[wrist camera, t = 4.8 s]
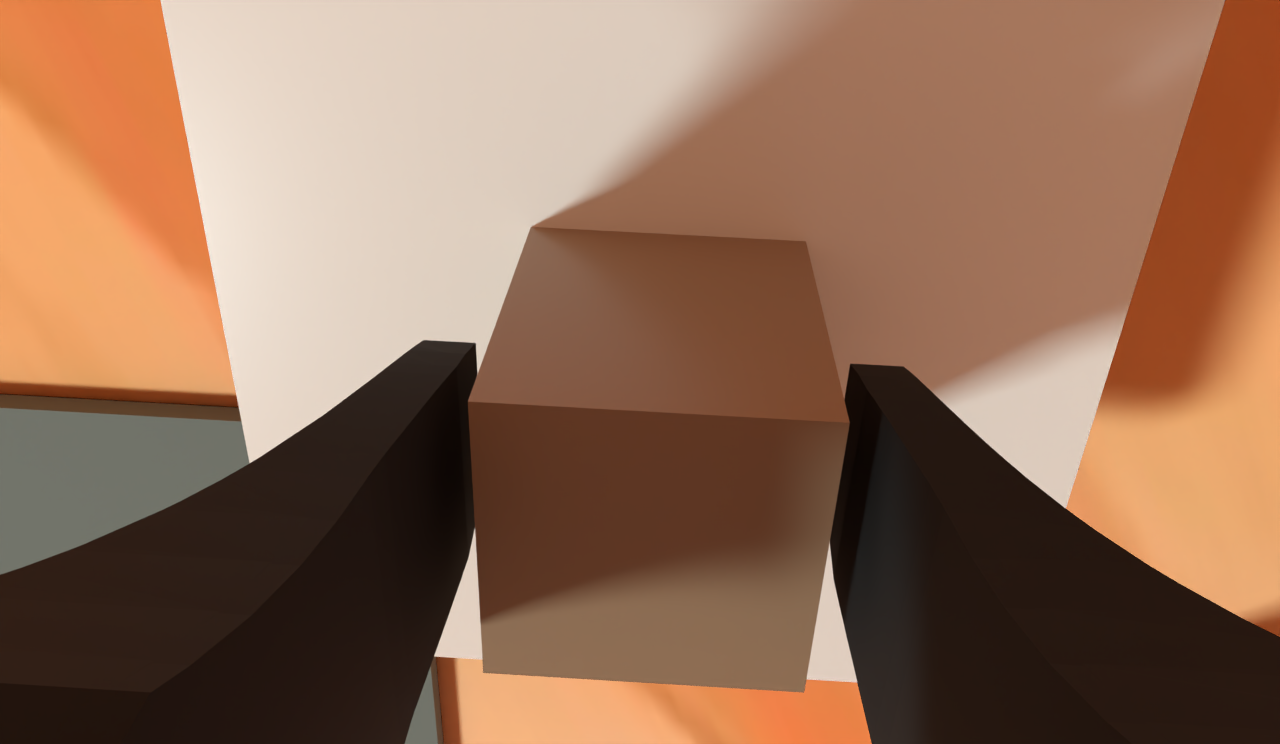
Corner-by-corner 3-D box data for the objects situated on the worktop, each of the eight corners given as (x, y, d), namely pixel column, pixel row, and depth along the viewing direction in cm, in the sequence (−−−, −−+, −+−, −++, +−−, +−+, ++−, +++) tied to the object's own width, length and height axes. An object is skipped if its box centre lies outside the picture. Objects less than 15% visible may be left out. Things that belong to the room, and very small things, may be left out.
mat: (414, 417, 21) (409, 431, 20) (452, 844, 28) (448, 861, 28) (-254, 379, 21) (-274, 392, 21) (-49, 811, 28) (-60, 828, 28)
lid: (1225, -120, 11) (1552, -58, 7) (996, 655, 17) (1095, 944, 13) (162, -169, 12) (-153, -136, 7) (301, 613, 18) (174, 883, 13)
